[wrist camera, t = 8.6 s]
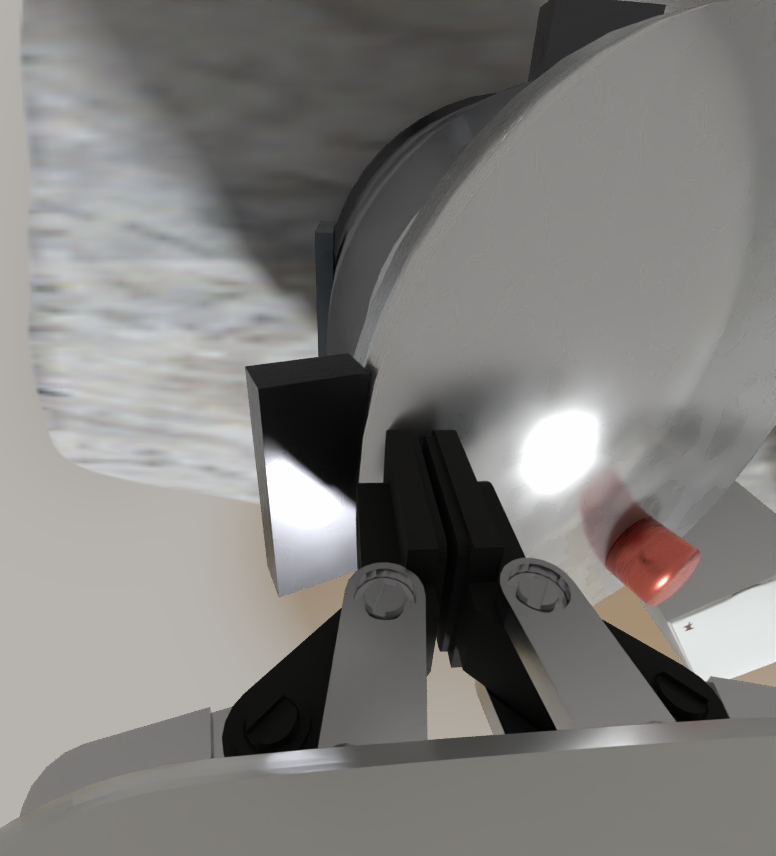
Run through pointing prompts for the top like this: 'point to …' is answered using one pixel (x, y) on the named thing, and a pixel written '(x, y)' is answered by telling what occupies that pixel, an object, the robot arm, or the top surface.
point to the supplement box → (726, 591)
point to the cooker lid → (565, 317)
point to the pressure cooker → (430, 172)
